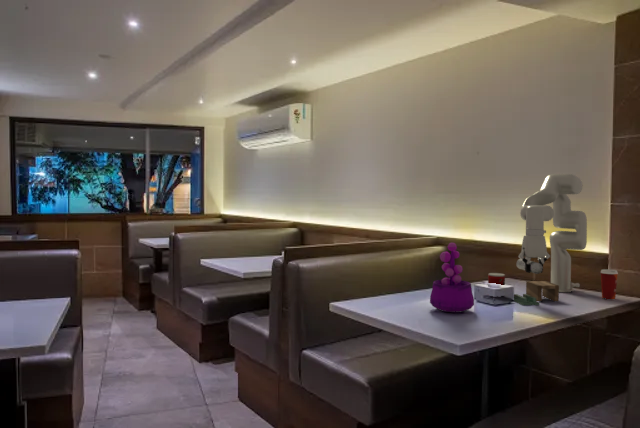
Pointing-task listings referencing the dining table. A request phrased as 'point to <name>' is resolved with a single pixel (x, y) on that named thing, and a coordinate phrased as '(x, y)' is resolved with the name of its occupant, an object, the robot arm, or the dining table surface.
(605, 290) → the paper cup
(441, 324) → the dining table surface
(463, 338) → the dining table surface
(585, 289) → the dining table surface
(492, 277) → the canned food
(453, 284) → the decorative plant
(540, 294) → the wooden box
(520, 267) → the grey oblong lump
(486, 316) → the dining table surface
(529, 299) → the cradle
